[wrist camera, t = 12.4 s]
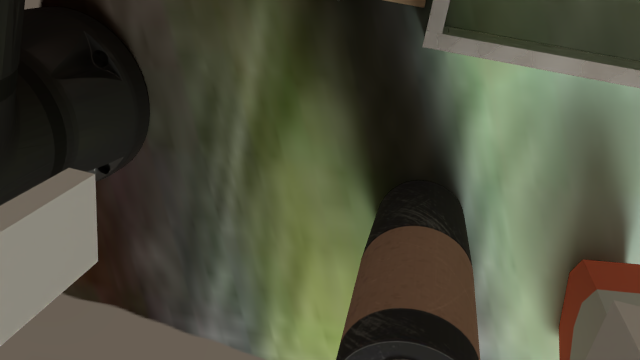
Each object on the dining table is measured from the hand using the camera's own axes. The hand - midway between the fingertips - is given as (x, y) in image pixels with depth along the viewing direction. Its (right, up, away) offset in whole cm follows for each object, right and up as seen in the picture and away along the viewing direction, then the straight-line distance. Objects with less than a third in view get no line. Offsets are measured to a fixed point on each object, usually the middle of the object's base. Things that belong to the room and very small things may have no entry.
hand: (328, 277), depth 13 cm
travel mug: (+8, -1, +30) cm, 32 cm away
